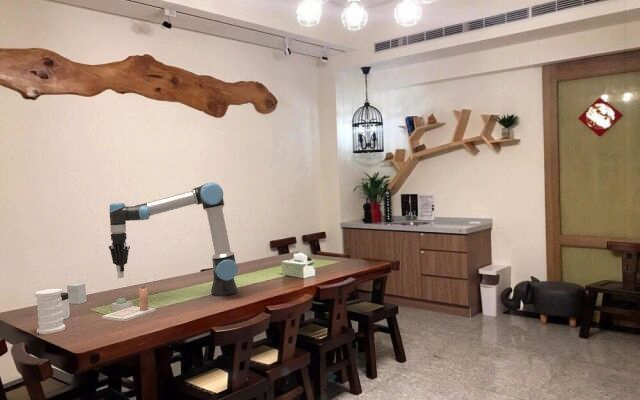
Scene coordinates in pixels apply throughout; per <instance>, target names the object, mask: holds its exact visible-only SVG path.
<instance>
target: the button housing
mask: <svg viewBox="0 0 640 400" xmlns="http://www.w3.org/2000/svg"><path fill="white" fill-rule="evenodd" d="M132 306H133V302H132V301H131V300H126V303H123V304H117V301H115V302H112V303H110V309H111V311H113V312H116V311H120V310H123V309H126V308H129V307H132Z"/></svg>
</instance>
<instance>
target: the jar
mask: <svg viewBox="0 0 640 400" xmlns="http://www.w3.org/2000/svg"><path fill="white" fill-rule="evenodd" d="M61 298H62V300H61V303H62V311H63V313H62V317H63V320H66V319H69V318H70V316H71V312H70V310H71V309H70V304H69V296H68V293H67V292H62V293H61Z"/></svg>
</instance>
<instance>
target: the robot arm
mask: <svg viewBox="0 0 640 400" xmlns="http://www.w3.org/2000/svg"><path fill="white" fill-rule="evenodd" d="M192 205H197V206H199V205H202V208H203V211H205V212H206V216H207V219H208V225H209V231H210V234H211V240H212V245H213V246H212V247H213V250H214V254H213V255H212V272H213V274H212V275H213V276H212V277H213V282H212V285H211V289H210V294H211V295H212V296H217V297H220V296H221V297H224V296H225V297H226V296H231V294H232V295H235V294H237V293H238V292H239V291H238V287H237V284H236V281H235V277H236V275H237V274H238V271H239V270H238V269H239V267H238V264H237V263H236V257H235V253H234V252H233V251H231V247H230V241H229V236H228V230H227V226H226V221H225V216H224V211H223V210H224V209H223V208H224V207H225V201H224V191H223V188H222V187H221V186H220V184H218V183H216V182H207V183H205V184H202V185H200V186H197V187H193V188H192V189H191V190H190V191H186V192H185V191H184V192H183V193H182V192H181V193H178V194H174V195H171V196H167V197H163V198H160V199H156V200H155V199H154V200H152V201H147V202H144V203H141V204H140V203H139V204H137V205H131V206H130V205H129V206H127V205H126V204H125V202H115V203H110V204H109V222H110V225H109V227H110V233H111V234H110V241H112V243H111V245H108V249H109V251H110V255H111V259H112V264H114V265H115V266H116V272H117V279H123V278H124V277H125V265H128V259H129V251H130V249H131V247H130V245H127V241H126V240H127V237H128V236H127V233H126V232H127V225H126V224H127V223H126V222H129V221H132V222H133V221H147V220H150V217H151V216H155V215H158V214H162V213H166V212H169V211H173V210H177V209H180V208H184V207H188V206H192Z"/></svg>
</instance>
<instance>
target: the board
mask: <svg viewBox="0 0 640 400" xmlns="http://www.w3.org/2000/svg"><path fill="white" fill-rule="evenodd" d="M156 311H157V308H155V307H148V310H146V311H140V306H137V305H135V306H134V305H132V307H129V308H126V309H123V310H120V311H113V312H111V313H108V314H105V315H102V316H101V319H103V320H110V321H118V322H119V321H120V322H128V321H131V320H134V319H136V318H139V317H142V316H145V315H149V314H150V313H151V314H152V313H154V312H156Z"/></svg>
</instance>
